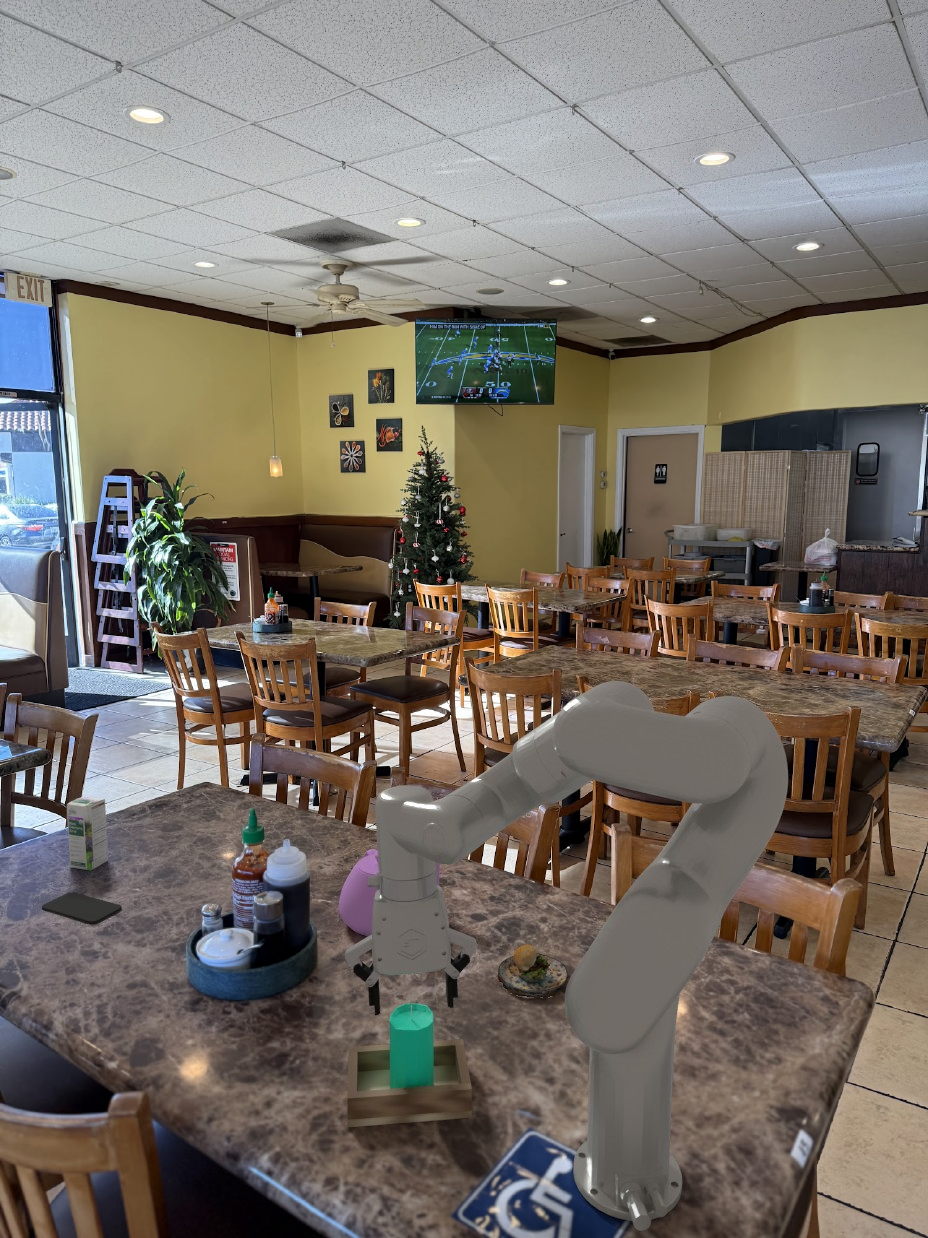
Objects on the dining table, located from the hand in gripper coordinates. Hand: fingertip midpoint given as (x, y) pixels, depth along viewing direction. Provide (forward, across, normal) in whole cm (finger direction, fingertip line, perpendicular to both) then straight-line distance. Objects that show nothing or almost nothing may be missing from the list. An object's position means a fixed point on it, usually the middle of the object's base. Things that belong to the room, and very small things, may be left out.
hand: (413, 1006), depth 113 cm
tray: (+13, -1, +1) cm, 13 cm away
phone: (+10, -62, +60) cm, 87 cm away
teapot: (+12, -1, +49) cm, 51 cm away
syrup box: (+9, -67, +81) cm, 106 cm away
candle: (+12, -1, +1) cm, 12 cm away
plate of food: (+14, +21, +26) cm, 36 cm away
